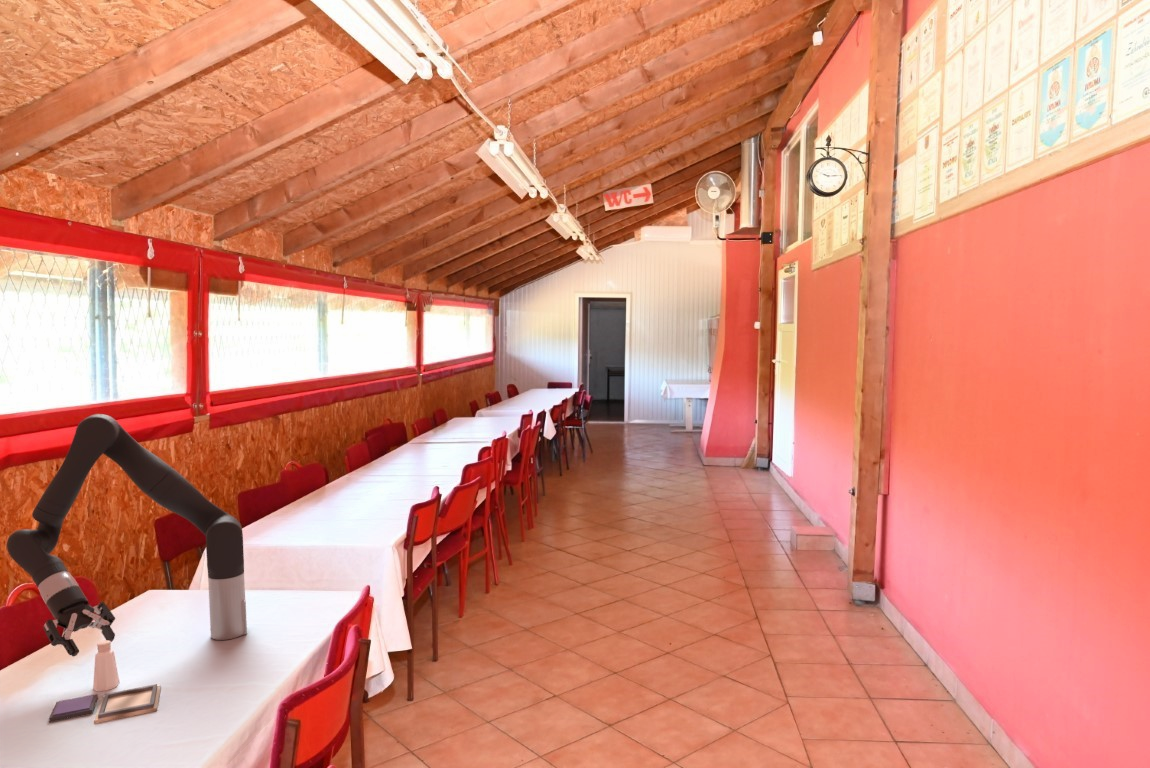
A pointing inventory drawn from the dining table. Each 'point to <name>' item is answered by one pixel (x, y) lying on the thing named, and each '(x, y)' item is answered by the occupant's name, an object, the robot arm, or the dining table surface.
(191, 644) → the dining table surface
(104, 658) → the pepper shaker
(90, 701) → the ink pad
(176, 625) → the dining table surface
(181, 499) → the robot arm
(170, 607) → the dining table surface
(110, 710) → the board
